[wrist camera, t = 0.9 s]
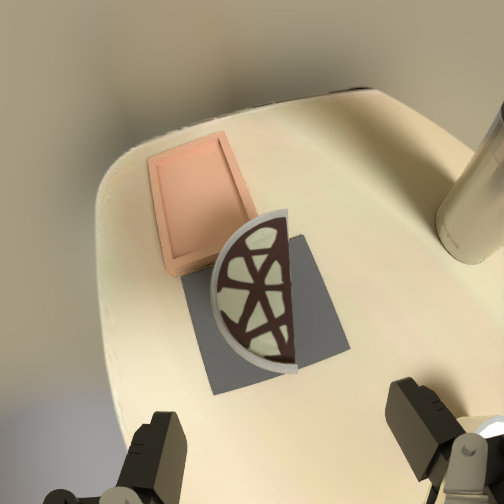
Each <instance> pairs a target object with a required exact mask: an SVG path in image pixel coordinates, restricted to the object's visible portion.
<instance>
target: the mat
mask: <svg viewBox="0 0 504 504" xmlns="http://www.w3.org/2000/svg"><path fill="white" fill-rule="evenodd" d="M289 257H290V267H291V269H290V274H291V282H292V286H291V287H292V300H293V321H294V334H295V337H294V340H295V348H296V350H295V359H296V361H297V364H298V369H300V368H303V367H306V366H308V365H311V364H314V363H316V362H319V361H322V360H324V359H327V358H329V357H332V356H334V355H337V354H339V353H342V352H344V351H346V350H349V349H350V346H349V344H348V341H347V338H346V336H345V333H344V331H343V328H342V326H341V323H340V321H339V318H338V316H337V313H336V311H335V308H334V306H333V303H332V301H331V298H330V296H329V293H328V291H327V288H326V286H325V284H324V281H323V279H322V276H321V274H320V272H319V269H318V267H317V265H316V262H315V260H314V258H313V255H312V253H311V251H310V249H309V246H308V244H307V242H306V239H305V237H304V235H302V236H299V237H296V238H293V239H291V240H289ZM213 268H214V266H213V267H210V268H207V269H204V270H201V271H198V272H195V273H192V274H190V275H187V276H184V277H181V279H182V283H183V287H184V291H185V295H186V299H187V303H188V307H189V311H190V315H191V319H192V322H193V326H194V330H195V334H196V337H197V341H198V344H199V348H200V351H201V355H202V358H203V362H204V365H205V369H206V372H207V375H208V378H209V382H210V385H211V388H212V391H213V394H214V395H217V394H221V393H224V392H228V391H232V390H235V389H239V388H242V387H245V386H249V385H252V384H255V383H259V382H262V381H265V380H268V379H271V378H274V377H277V376H280V375H283V374H284V373H278V372H273V371H269V370H266V369H263V368H261V367H258V366H256V365H254V364H252V363H251V362H249V361H247V360H245V359H244V358H243V357H242V356H240V355H239V354H238V353H237V352H235V351H234V350H233V348H232V347H231V346H230V345H229V344H228V343H227V342H226V340H225V339H224V337H223V335H222V334H221V332H220V331H219V328H218V326H217V324H216V321H215V319H214V315H213V311H212V306H211V299H210V283H211V275H212V271H213Z"/></svg>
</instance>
